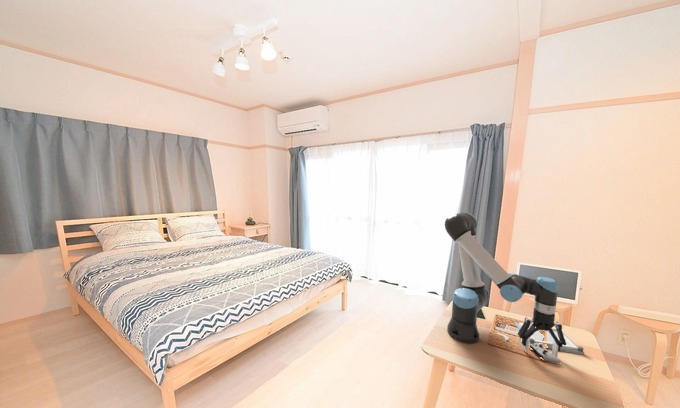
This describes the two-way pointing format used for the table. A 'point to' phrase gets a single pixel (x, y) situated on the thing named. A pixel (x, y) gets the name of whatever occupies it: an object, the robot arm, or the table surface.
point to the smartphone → (480, 314)
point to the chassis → (568, 347)
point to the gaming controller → (544, 353)
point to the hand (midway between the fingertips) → (539, 354)
